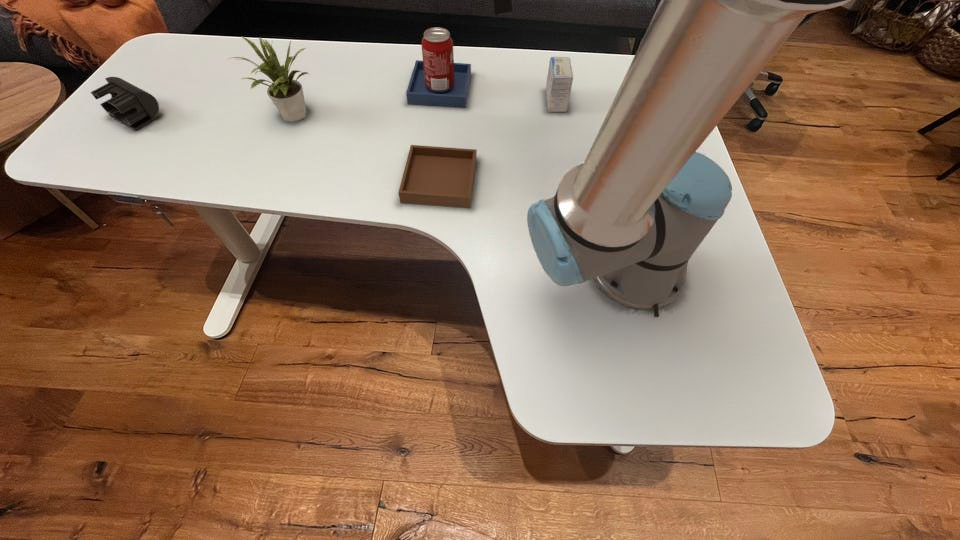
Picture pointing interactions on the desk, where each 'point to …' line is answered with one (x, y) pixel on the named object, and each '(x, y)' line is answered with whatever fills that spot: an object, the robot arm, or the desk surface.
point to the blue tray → (450, 98)
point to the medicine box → (559, 84)
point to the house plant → (280, 82)
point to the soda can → (438, 59)
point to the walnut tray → (438, 176)
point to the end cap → (127, 103)
